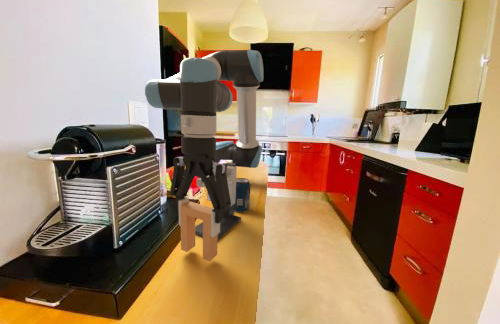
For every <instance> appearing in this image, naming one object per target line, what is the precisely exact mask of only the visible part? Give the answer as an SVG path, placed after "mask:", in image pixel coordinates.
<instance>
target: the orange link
mask: <svg viewBox="0 0 500 324" xmlns="http://www.w3.org/2000/svg"><path fill="white" fill-rule="evenodd" d="M212 209H213V207H211V206H208V205H205V204H204V205H203V204H200V203H198V202H194V201H191V200H189V202H186V203H184V204H182V205H180V221H181V226H180V250H182V251H183V252H185V253H188V252H189V251H190V250H192V249H193V248H195V247H196V234H195V227H196V219H197V220H201V221H202V222H203V237H202V260H204V261H206V262H209V263H210V262H212V260H214V259H215V257H217V256H218V241H219V239H218V234H217V235H216V236H214V237H210V230H211V210H212Z"/></svg>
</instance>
